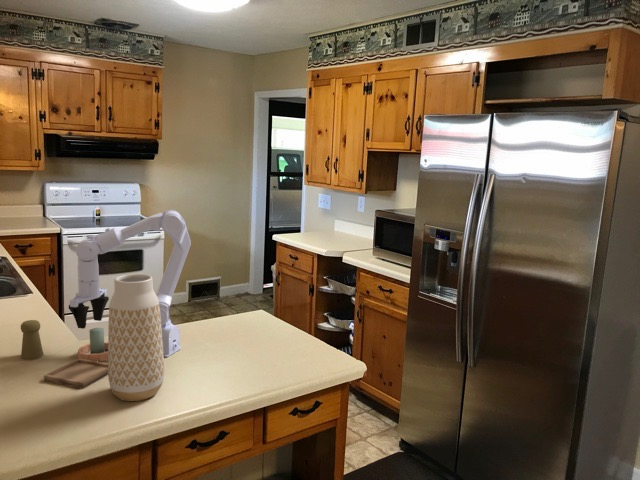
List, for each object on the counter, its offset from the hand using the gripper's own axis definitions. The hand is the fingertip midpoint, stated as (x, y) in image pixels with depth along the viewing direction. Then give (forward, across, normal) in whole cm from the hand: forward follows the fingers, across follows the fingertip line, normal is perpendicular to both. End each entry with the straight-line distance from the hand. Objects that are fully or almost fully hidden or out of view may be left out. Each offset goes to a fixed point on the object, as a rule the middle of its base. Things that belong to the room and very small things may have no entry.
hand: (89, 324), depth 162 cm
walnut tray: (+10, +13, +6) cm, 17 cm away
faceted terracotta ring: (+10, -1, +2) cm, 10 cm away
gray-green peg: (+10, -1, +2) cm, 10 cm away
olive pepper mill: (+10, +5, -16) cm, 20 cm away
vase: (+10, +18, +27) cm, 34 cm away
